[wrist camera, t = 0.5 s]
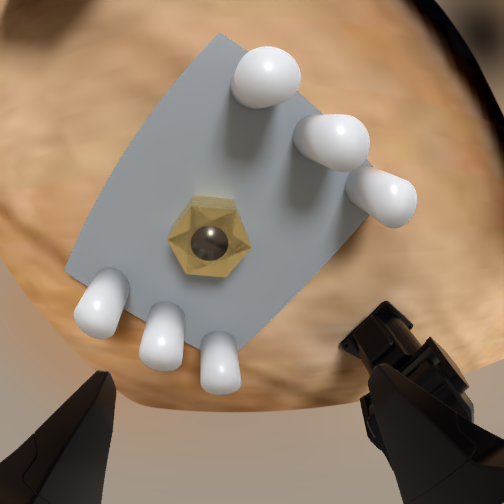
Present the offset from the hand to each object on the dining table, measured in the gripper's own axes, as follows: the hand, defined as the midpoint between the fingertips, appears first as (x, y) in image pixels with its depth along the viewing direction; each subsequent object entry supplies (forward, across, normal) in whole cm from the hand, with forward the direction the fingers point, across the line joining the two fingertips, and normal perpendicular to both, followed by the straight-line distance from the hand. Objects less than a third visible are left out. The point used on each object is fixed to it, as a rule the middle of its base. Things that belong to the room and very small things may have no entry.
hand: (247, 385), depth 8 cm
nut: (+12, +2, -1) cm, 12 cm away
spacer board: (+13, +1, -1) cm, 13 cm away
